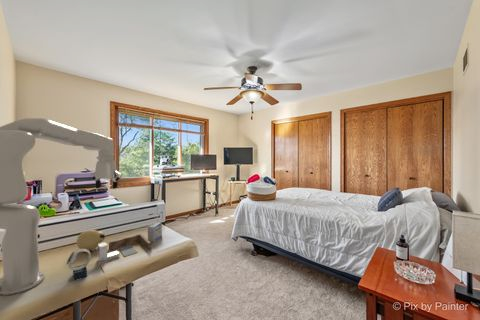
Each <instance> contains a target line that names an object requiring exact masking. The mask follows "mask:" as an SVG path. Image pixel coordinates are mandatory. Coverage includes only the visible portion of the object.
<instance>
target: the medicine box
mask: <svg viewBox="0 0 480 320" xmlns="http://www.w3.org/2000/svg"><path fill="white" fill-rule="evenodd" d="M162 224H163V223H162V222H160V221H159V222H158V221H157V222H154V223H152V224H150V225H148V227H147V240H148V241H150V242H151V243H153V242H154V243H155V242H156V241H158V240H159V239H160V238H161V237H162V236H163V234H162V232H163V229H162V226H163V225H162Z"/></svg>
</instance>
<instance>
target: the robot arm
mask: <svg viewBox="0 0 480 320" xmlns="http://www.w3.org/2000/svg"><path fill="white" fill-rule="evenodd" d="M36 139H42V140H46V141H51V142H55V143H59V144H63V145H67V146H74V147H82V148H83V149H84V150H87V151H93V152H95V151H98V156H96V160H97V161H96V163H95V169H94V170H95V171H93V172H91V173H90V176H91V177H92V179H93V180H94V182H95V188H96V189H100V188H101V186H102V185H101V183H102V181H101V179H102V180H103V179H104V180H110V179H111V180H112V189H118V185H119V184H118V182H119V181H120V179H121V178H122V176H123V174H122V173H121V172H119V171H117V165H116V161H115V148H114V145H115V144H114V139H113V138H112V137H108V136H105V135H102V134H99V133H95V132H92V131H88V130H84V129H79V128H75V127H72V126H68V125H66V124H62V123H61V122H56V121H54V120H51V119H48V118H42V117H40V118H39V117H38V118H37V117H33V118H32V117H30V118H29V117H27V118H21V119H18V120H15V121H11V122H9V123H6V124H4V125H1V126H0V230H4V231H5V233H4V236H3V238H2V241H1V252H2V253H1V255H2V269H3V273H2V274H3V275H2V277H1V278H0V295H1V294H3V295H2V296H9V295H10V294H11V295H14V294H15V293H16V294H19V293H21V292H25V291H27V290H30V289H32V288H34V287H35V286H38V285H39V284H40V283H42V281H43V280H45V275H46V274H45V272H42V271H40V262H39V261H40V260H39V240H38V233H39V232H38V230H39V229H38V228H39V224H40V221H41V220H40V219H41V213H40V210H39V209H38V208H36V207H35V206H32V205H30V204H22V202H23V201H25V199H26V198H28V195H29V188H28V185H27V181H26V177H25V174H24V169H23V160H24V158H25V156H26V155H27V154H28V153H29V152H30V151H31V150H33V148H34V147H35V145H36ZM20 202H21V203H20ZM16 294H15V295H16Z"/></svg>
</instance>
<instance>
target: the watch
mask: <svg viewBox="0 0 480 320" xmlns="http://www.w3.org/2000/svg"><path fill="white" fill-rule="evenodd" d="M82 251H83V252H82ZM84 252H86V253H88V256H87V258H86V260H85V262H84V264H80V265H79V264H78V265H75V266H71V265H73V263H74V262H75V260H76V258H77V256H78V254H79V253H84ZM91 259H92V254H91V252H90V250H87V249H79V248H78V249H76V250H75V251H72V252H71V254H70V255H69V257H68V259H67V261H66V265H67V266H68V269H69V270H70V271H72V276H73V281H74V280H75V281H78V280H81V279H83V278H87V277H88V273H87V272H88V269H87V266H88V265H89V263H90V261H91ZM80 278H81V279H80ZM77 279H78V280H77Z"/></svg>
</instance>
